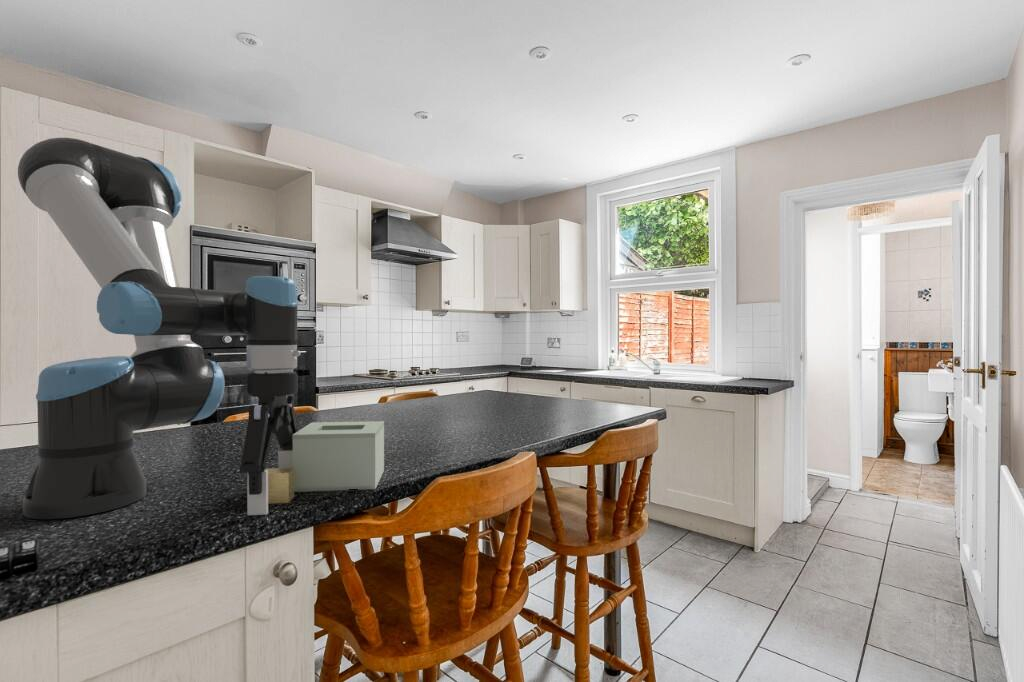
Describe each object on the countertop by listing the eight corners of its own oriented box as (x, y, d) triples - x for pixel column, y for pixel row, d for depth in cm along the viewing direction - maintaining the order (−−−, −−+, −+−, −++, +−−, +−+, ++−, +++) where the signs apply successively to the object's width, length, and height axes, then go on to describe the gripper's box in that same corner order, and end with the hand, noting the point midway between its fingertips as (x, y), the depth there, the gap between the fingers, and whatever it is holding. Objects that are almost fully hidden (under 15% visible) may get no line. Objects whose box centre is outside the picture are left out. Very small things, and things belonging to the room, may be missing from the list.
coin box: (292, 492, 86) (292, 434, 86) (311, 472, 98) (311, 422, 98) (375, 489, 88) (375, 433, 88) (384, 470, 100) (384, 421, 99)
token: (249, 504, 80) (249, 474, 80) (256, 498, 83) (256, 468, 83) (288, 503, 81) (288, 472, 81) (294, 497, 84) (294, 467, 84)
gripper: (269, 377, 69) (270, 527, 70) (316, 366, 94) (317, 476, 94) (212, 377, 68) (213, 529, 69) (275, 366, 93) (275, 478, 93)
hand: (273, 499), depth 82 cm, fingers open, 13 cm apart
